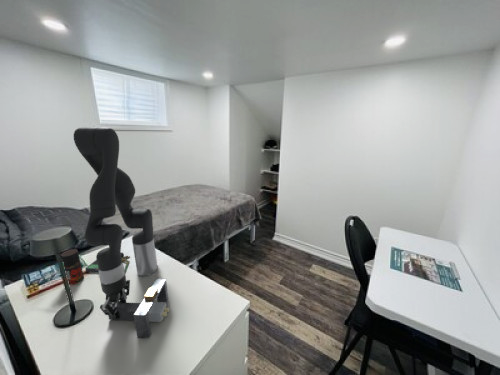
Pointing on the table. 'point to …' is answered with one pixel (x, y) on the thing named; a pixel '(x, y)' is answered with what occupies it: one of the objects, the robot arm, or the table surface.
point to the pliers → (125, 262)
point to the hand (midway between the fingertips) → (120, 313)
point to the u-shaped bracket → (149, 307)
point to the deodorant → (72, 266)
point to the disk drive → (95, 266)
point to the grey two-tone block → (129, 309)
